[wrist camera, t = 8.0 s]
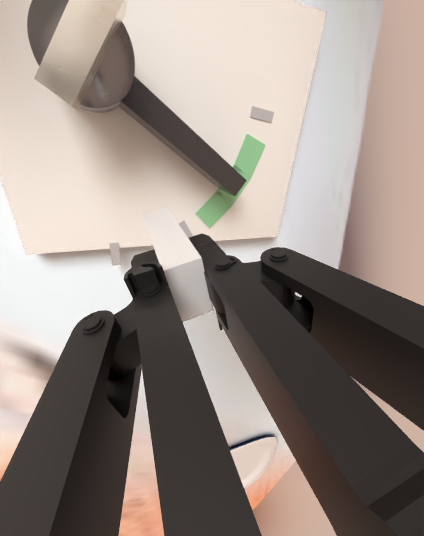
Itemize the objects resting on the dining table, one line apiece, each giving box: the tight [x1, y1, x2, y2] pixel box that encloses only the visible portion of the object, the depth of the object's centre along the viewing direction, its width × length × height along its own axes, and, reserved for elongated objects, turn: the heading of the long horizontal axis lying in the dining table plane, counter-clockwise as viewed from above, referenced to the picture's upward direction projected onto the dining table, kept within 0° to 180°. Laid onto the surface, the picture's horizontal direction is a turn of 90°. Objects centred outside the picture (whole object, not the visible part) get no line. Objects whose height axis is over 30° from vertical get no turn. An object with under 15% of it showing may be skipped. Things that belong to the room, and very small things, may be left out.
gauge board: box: [0, 0, 327, 265], centre depth 18 cm, size 18×22×2 cm
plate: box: [230, 436, 278, 489], centre depth 54 cm, size 25×25×2 cm
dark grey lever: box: [27, 0, 247, 196], centre depth 14 cm, size 13×5×5 cm, turn 52°
